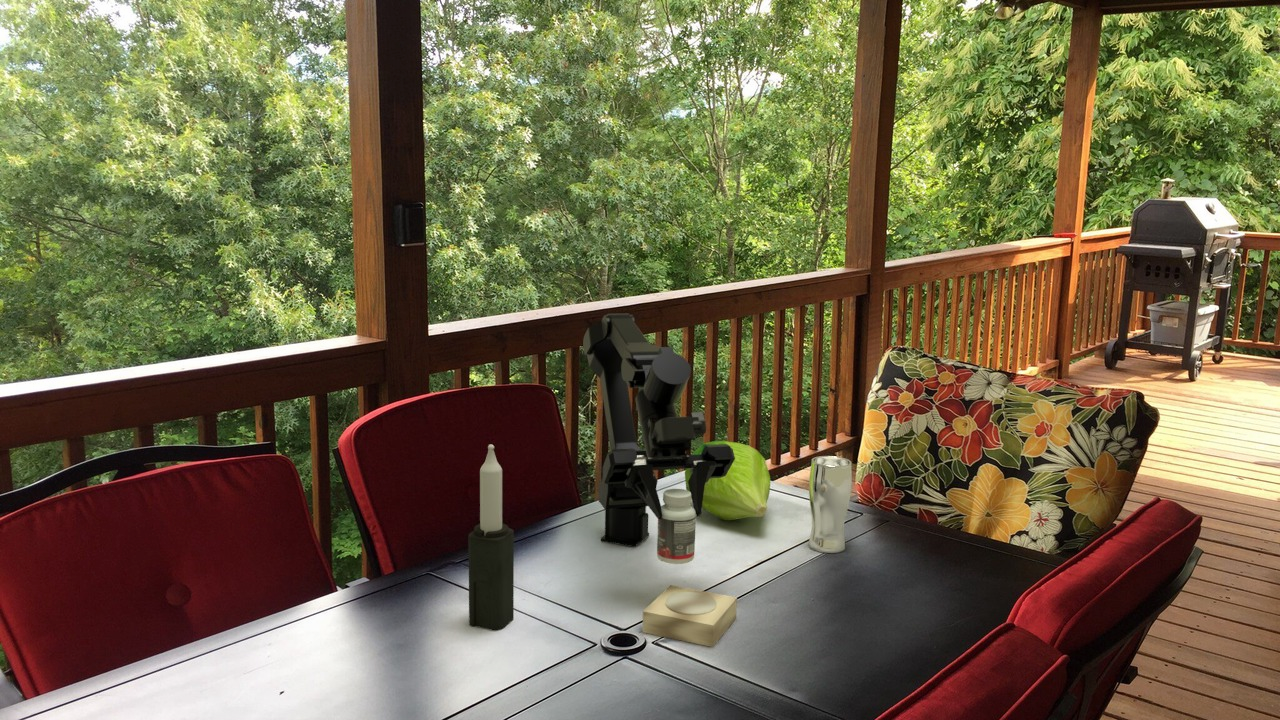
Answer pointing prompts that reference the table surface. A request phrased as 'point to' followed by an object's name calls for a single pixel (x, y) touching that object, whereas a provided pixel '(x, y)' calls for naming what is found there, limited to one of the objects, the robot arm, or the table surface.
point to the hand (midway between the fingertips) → (679, 516)
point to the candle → (491, 555)
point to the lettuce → (737, 485)
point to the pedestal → (690, 615)
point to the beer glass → (829, 502)
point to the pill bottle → (676, 528)
